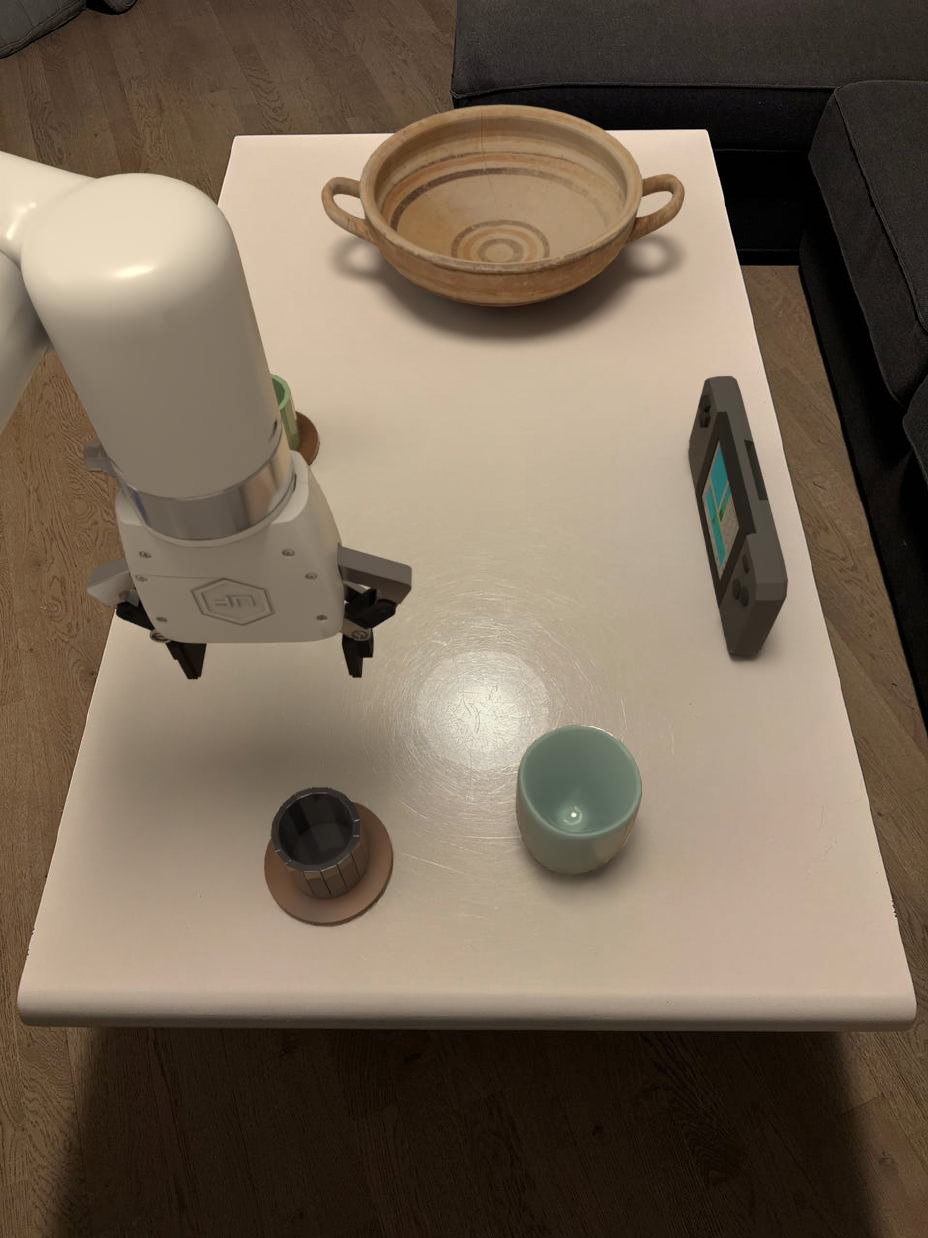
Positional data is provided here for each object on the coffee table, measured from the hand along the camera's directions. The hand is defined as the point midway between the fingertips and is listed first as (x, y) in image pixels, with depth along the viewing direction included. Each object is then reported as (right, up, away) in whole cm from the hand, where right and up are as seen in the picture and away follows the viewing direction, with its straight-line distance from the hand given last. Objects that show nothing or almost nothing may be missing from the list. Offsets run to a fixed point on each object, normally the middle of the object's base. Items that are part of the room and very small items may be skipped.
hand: (278, 657), depth 57 cm
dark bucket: (+2, -15, +10) cm, 18 cm away
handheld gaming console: (+33, +8, +25) cm, 42 cm away
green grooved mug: (-7, +19, +32) cm, 38 cm away
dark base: (+2, -15, +10) cm, 18 cm away
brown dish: (-7, +19, +32) cm, 38 cm away
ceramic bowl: (+15, +41, +47) cm, 64 cm away
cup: (+19, -13, +11) cm, 25 cm away
